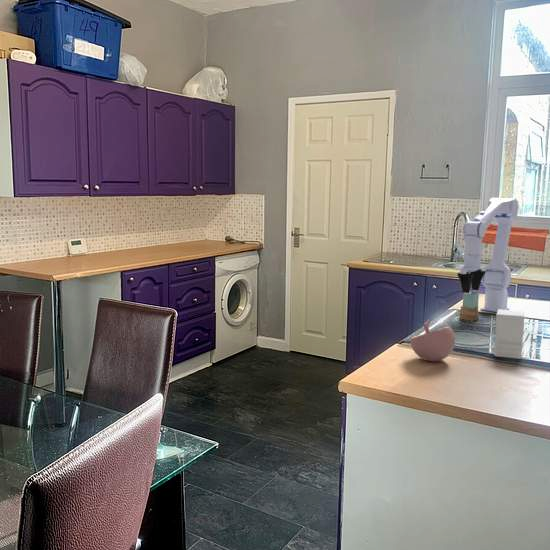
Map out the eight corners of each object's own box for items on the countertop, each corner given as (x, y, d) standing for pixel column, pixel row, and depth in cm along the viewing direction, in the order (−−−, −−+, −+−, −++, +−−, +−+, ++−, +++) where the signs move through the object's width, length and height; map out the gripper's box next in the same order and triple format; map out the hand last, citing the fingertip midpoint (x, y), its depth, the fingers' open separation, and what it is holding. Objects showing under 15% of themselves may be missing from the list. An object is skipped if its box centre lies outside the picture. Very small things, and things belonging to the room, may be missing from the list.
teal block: (467, 304, 209) (468, 291, 209) (478, 306, 207) (478, 293, 206) (462, 306, 207) (463, 293, 206) (472, 308, 204) (473, 294, 203)
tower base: (465, 317, 211) (466, 311, 211) (478, 319, 208) (479, 313, 207) (459, 319, 208) (459, 313, 207) (472, 322, 204) (472, 315, 204)
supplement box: (521, 352, 166) (525, 310, 164) (521, 359, 159) (524, 316, 157) (495, 349, 169) (497, 308, 167) (493, 356, 162) (496, 313, 160)
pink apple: (423, 351, 166) (425, 313, 165) (461, 360, 158) (463, 320, 156) (401, 360, 158) (402, 320, 156) (439, 370, 150) (442, 328, 148)
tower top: (464, 310, 211) (464, 304, 210) (477, 312, 208) (478, 306, 208) (460, 313, 207) (460, 306, 206) (474, 315, 204) (474, 308, 204)
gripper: (474, 257, 196) (472, 295, 198) (492, 253, 206) (489, 290, 208) (455, 255, 200) (453, 292, 203) (473, 252, 211) (471, 287, 213)
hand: (470, 291), depth 206 cm, fingers open, 7 cm apart
